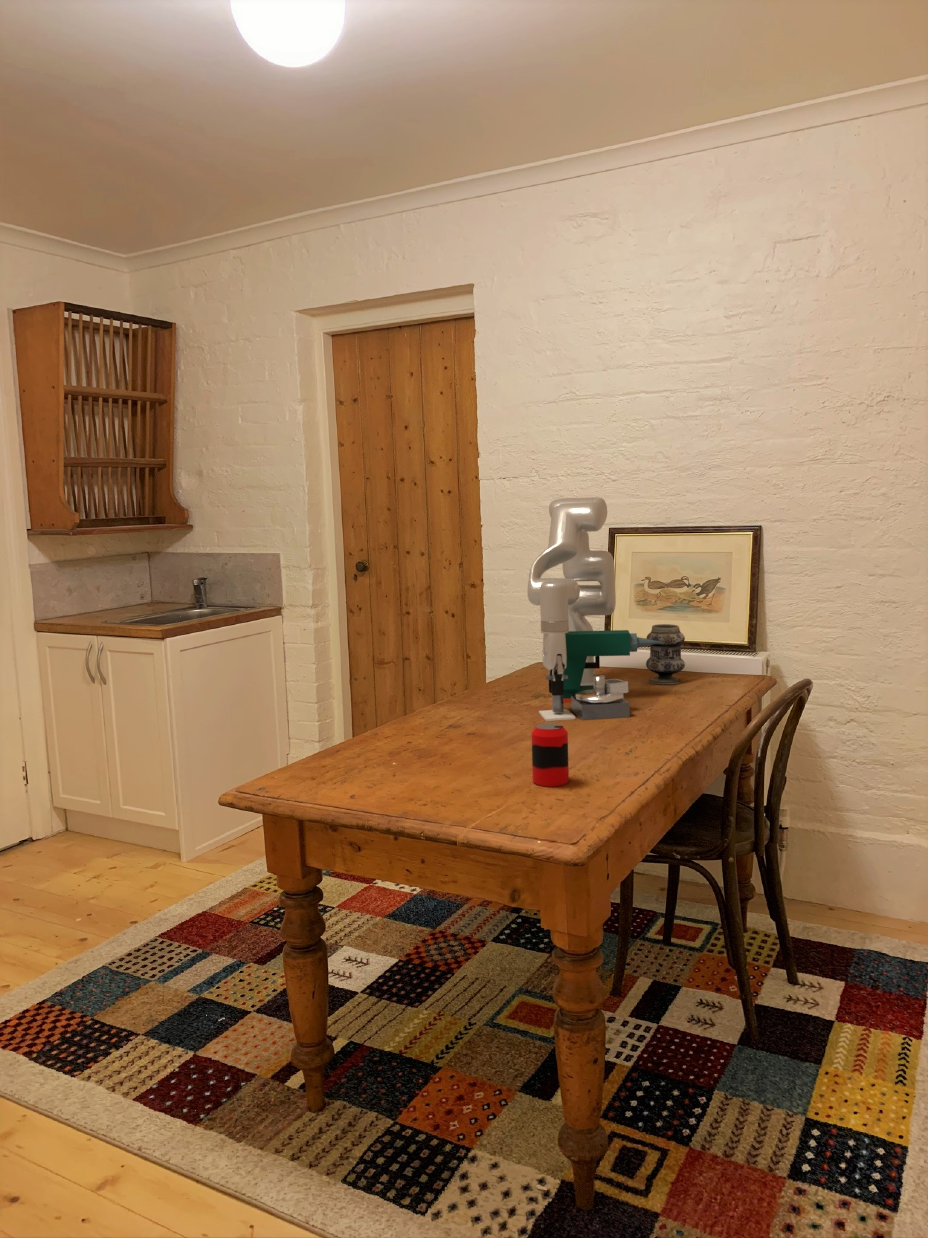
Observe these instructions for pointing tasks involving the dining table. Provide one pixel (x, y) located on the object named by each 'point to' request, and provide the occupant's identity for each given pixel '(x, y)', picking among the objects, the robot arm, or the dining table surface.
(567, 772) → the soda can
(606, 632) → the power tool
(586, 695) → the collar
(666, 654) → the apothecary jar
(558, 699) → the chuck key
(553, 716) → the key mat
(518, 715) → the dining table surface
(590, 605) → the robot arm
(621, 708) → the stand
